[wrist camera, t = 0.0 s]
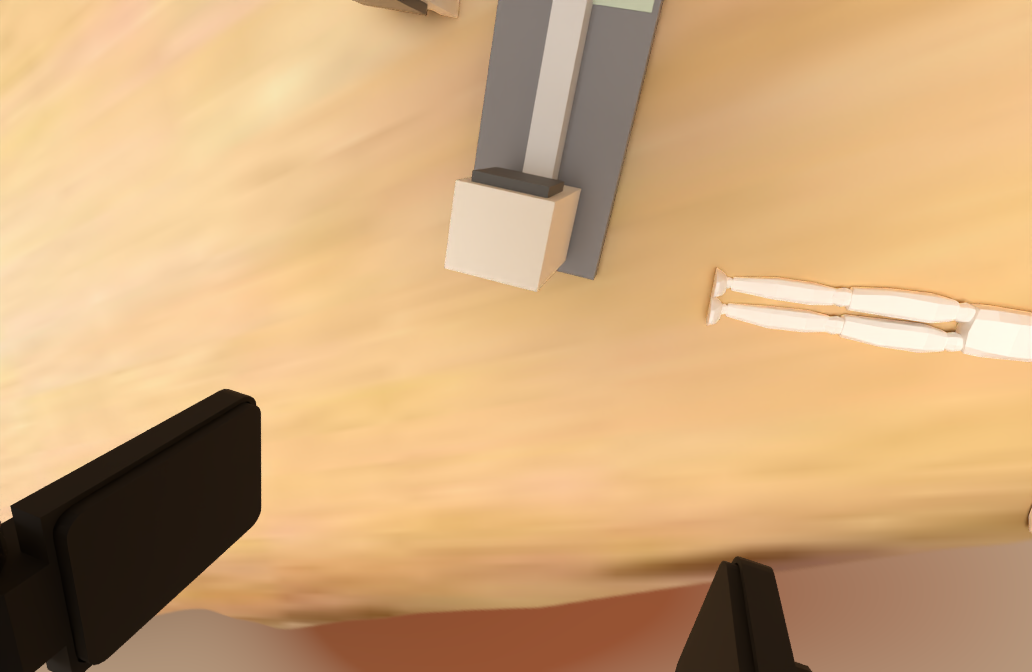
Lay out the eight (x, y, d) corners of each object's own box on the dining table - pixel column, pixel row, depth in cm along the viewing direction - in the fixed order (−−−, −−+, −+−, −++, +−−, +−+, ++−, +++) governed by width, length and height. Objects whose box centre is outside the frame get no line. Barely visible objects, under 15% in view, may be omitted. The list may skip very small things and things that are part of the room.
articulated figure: (756, 77, 31) (1504, 101, 23) (750, 83, 34) (1401, 106, 26) (677, 475, 41) (1186, 588, 33) (679, 449, 44) (1140, 546, 36)
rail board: (530, -164, 32) (467, -297, 22) (699, -148, 30) (711, -284, 21) (469, 244, 42) (407, 275, 32) (596, 275, 40) (570, 318, 30)
